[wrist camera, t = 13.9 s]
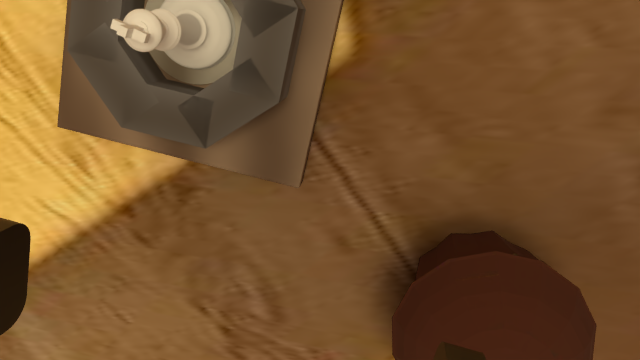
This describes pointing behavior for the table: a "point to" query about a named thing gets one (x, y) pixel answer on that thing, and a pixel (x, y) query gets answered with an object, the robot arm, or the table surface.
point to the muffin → (491, 305)
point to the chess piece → (182, 31)
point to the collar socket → (204, 86)
